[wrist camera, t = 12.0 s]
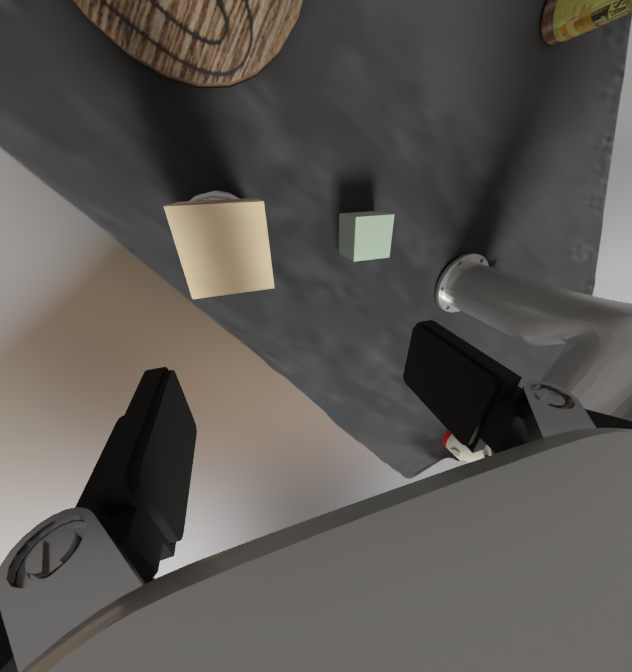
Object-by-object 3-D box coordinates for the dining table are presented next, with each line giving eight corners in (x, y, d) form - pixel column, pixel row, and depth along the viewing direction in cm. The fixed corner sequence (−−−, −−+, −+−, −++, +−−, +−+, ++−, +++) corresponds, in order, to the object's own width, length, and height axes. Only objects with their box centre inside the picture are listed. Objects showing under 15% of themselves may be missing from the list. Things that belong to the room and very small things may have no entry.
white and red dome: (475, 411, 84) (518, 450, 71) (476, 431, 92) (516, 469, 79) (440, 432, 83) (477, 475, 71) (444, 451, 91) (479, 491, 79)
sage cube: (373, 211, 40) (394, 214, 35) (370, 249, 43) (389, 257, 38) (339, 213, 39) (355, 216, 34) (338, 252, 42) (353, 261, 37)
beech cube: (254, 198, 21) (263, 201, 16) (264, 267, 24) (274, 288, 20) (178, 201, 20) (163, 206, 15) (199, 275, 23) (192, 299, 18)
